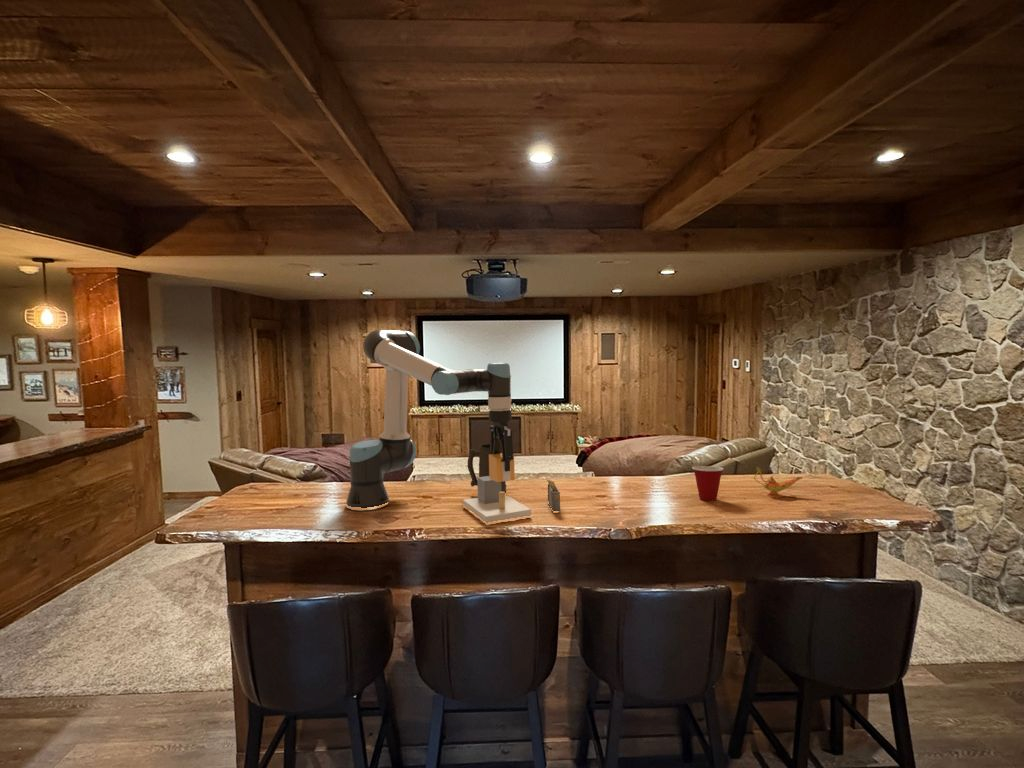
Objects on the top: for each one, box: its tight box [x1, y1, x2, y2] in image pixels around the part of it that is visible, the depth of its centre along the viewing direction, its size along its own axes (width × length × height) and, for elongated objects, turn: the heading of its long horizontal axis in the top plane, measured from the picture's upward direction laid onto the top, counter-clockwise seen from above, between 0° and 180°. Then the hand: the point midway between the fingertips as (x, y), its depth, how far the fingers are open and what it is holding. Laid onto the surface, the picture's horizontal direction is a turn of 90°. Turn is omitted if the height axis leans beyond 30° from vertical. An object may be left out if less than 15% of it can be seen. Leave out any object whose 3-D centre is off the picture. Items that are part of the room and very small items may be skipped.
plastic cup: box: [691, 465, 724, 502], centre depth 188 cm, size 11×11×12 cm
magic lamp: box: [753, 466, 803, 499], centre depth 191 cm, size 7×18×11 cm, turn 89°
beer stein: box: [467, 443, 507, 493], centre depth 200 cm, size 15×11×20 cm
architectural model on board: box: [546, 478, 561, 512], centre depth 181 cm, size 11×3×10 cm, turn 4°
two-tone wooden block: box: [489, 453, 516, 482], centre depth 171 cm, size 6×6×8 cm
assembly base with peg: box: [462, 476, 532, 523], centre depth 177 cm, size 22×16×11 cm
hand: (502, 478), depth 171 cm, fingers closed on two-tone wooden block, 6 cm apart
